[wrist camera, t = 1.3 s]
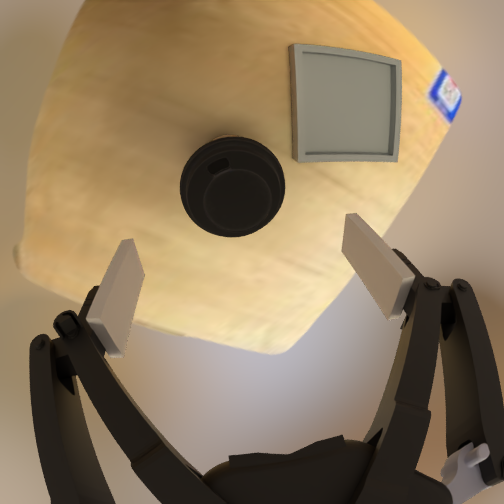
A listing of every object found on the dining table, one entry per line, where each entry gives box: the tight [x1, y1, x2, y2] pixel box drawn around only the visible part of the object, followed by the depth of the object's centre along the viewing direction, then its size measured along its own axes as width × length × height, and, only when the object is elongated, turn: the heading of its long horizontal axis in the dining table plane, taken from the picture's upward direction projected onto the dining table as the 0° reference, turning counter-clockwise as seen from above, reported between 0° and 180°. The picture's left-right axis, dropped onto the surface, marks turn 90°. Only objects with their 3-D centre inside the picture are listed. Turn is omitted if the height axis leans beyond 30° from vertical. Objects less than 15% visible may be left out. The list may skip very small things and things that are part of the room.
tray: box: [289, 44, 402, 163], centre depth 31 cm, size 16×16×2 cm
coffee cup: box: [180, 135, 285, 237], centre depth 28 cm, size 9×9×15 cm
